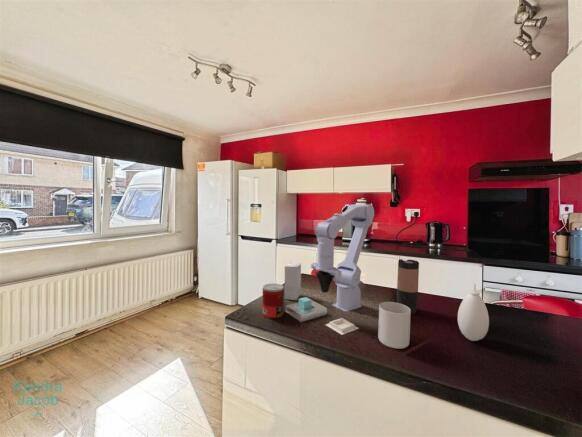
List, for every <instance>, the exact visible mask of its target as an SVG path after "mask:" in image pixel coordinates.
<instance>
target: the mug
mask: <svg viewBox="0 0 582 437" xmlns="http://www.w3.org/2000/svg"><path fill="white" fill-rule="evenodd" d="M411 315H412V314H411V310H410V308H409V307H407V306H405V305H403V304H400V303H397V302H394V301H384V302H381V303H379V304H378V321H377V322H378V323H377V324H378V325H377V326H378V327H377V328H378V331H377V338H378V340H379V342H380V343H381V344H382V345H383V346H386V347H389V348H391V349H396V350H398V349H399V350H400V349H401V350H402V349H405V348H408V347H409V345H410V337H411V336H410V334H411Z"/></svg>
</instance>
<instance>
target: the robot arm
mask: <svg viewBox="0 0 582 437" xmlns="http://www.w3.org/2000/svg"><path fill="white" fill-rule="evenodd" d="M374 217H375V209H374V206H373V205H372V204H371V203H369V204H354V203H351V204H349V205H348V206H347V208H346V210H345V211H343V212H341V213H334V214H333V216H331V217H330V218H327V219H326V220H325V221H321V222H319V223H317V225H316V226H315V229H314V234H315V236H316V241H317V243H318V244H317V262H312V263H310V268H311V269H314V270H316V271H317V272H316V273H315V276H316V277H317V280H318V282H319V286H320V289H321V292H322V293H323V294H324V293H328V292H329V291H330V287H331V283H332V281H333V282H334V283H335V285H336V302H335V303H332V306H333V307H336V308H337V309H339V310H342V311H343V312H349V311H352V310H355V309H359V308H362V306H363V305H361V296H362V295H361V289H360V288H361V287H360V286H359V284H360V282H361V276H362V270H361V269H360V267H359V266H358V265H357V264H358V262H359V260H360V255H361V252H362V248H363V246H364V243H365V240H366V237H367V233H368V230H369V227H371V226H372V223H373V220H374ZM348 221H350V223H351V225H352V226H354V231H353V234H352V237H351V240H350V243H349V245H348V248H347V252H346V254H345V258H344V260H343V261H341V262H339V263H338V264H337V266H336V267H334V265H335V264H334V263H335V262H334V259H335V258H334V257H335V256H334V255H335V253H334V252H335V239H336V238H337V237H338V233H339V231H341V230H342V229H344V228H345V227H346V225H347V222H348Z"/></svg>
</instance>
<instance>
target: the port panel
mask: <svg viewBox="0 0 582 437" xmlns="http://www.w3.org/2000/svg"><path fill="white" fill-rule="evenodd" d="M311 300H312V299H311ZM327 310H328V308H327V307H326V306H324V305H322V304H320V303H318V302H316V301H315V300H312V302H311V309H308V310H303V309H301V308H300V307H298V302H294V303H291V304H286V305H285V312H286V313H287V314H288V315H290V316H291V317H293V318H294V319H296V320H297V321H299V322H300V323H302V322H305V321H309V320H312V319H316V318H319V317H322V316H325V315H326V316H327V312H328V311H327Z"/></svg>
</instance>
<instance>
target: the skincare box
mask: <svg viewBox="0 0 582 437" xmlns="http://www.w3.org/2000/svg"><path fill="white" fill-rule="evenodd" d="M301 295H302V263H298V262H289V263H288V264H286V265H285V266H284V300H289V301H298V300H299V297H300V296H301Z"/></svg>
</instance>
